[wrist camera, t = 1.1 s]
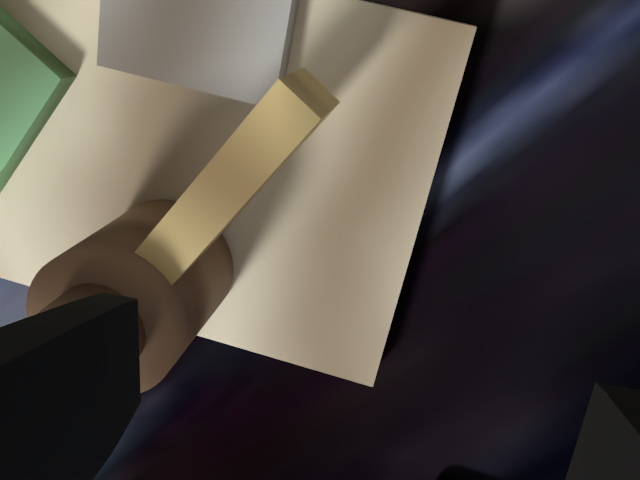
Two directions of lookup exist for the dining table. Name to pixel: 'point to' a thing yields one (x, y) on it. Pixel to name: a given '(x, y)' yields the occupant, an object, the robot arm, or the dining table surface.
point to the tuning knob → (186, 232)
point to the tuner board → (212, 133)
